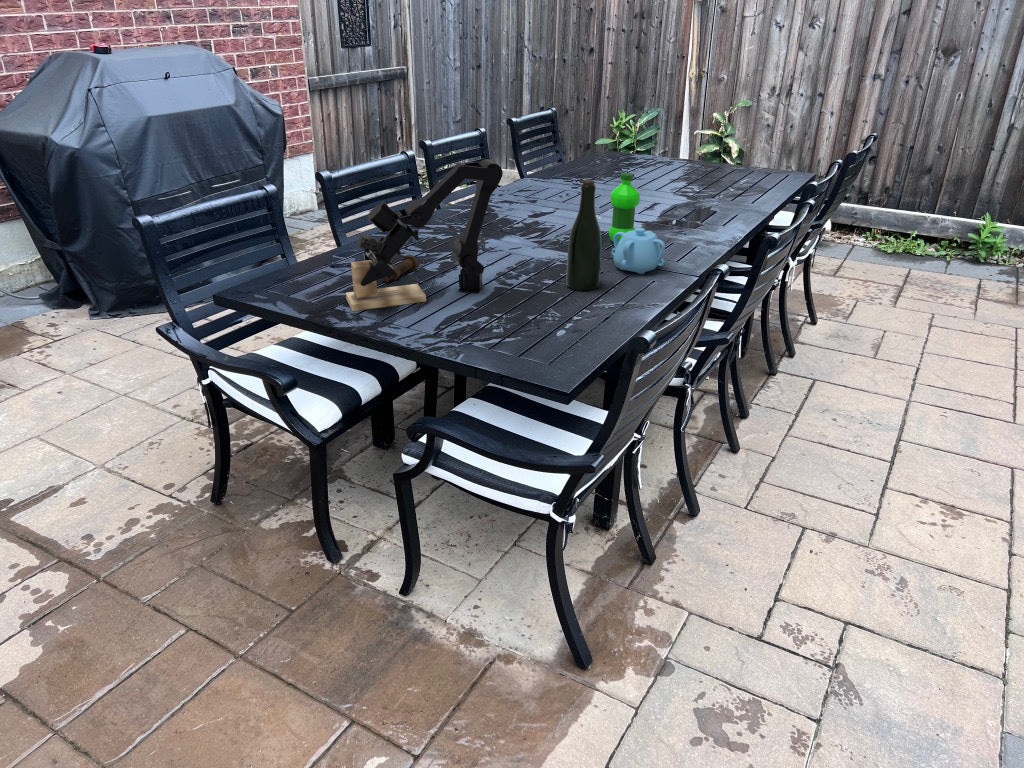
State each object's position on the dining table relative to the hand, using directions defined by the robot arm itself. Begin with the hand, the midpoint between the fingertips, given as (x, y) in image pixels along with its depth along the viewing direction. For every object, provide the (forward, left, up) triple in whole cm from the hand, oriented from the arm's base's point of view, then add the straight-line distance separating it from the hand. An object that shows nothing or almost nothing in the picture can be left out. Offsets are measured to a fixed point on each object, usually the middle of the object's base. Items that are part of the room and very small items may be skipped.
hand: (359, 282), depth 217 cm
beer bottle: (-61, -32, -7) cm, 69 cm away
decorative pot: (-76, -53, -7) cm, 93 cm away
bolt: (-2, -25, -7) cm, 26 cm away
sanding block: (-1, -1, -5) cm, 5 cm away
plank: (-6, -4, -7) cm, 10 cm away
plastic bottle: (-68, -79, -7) cm, 104 cm away
